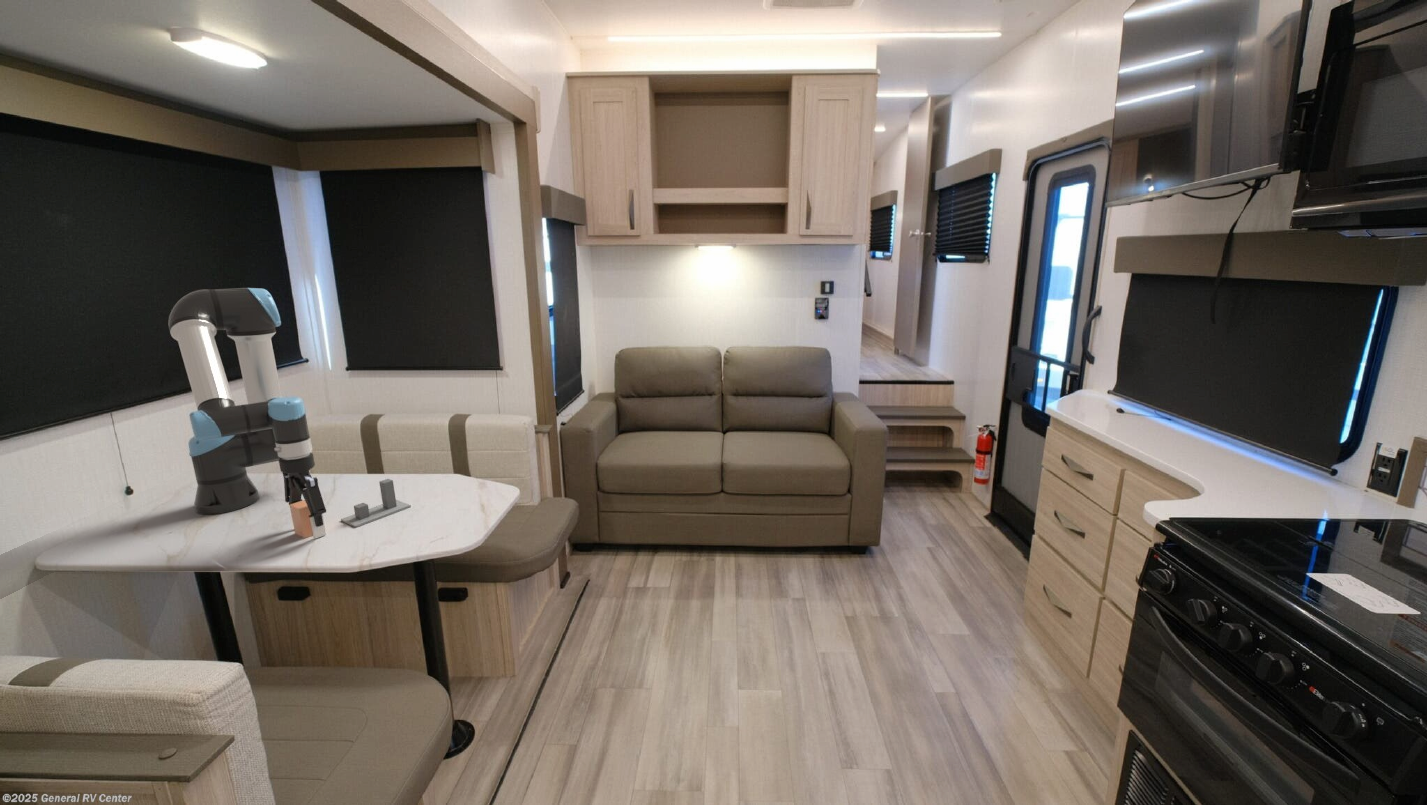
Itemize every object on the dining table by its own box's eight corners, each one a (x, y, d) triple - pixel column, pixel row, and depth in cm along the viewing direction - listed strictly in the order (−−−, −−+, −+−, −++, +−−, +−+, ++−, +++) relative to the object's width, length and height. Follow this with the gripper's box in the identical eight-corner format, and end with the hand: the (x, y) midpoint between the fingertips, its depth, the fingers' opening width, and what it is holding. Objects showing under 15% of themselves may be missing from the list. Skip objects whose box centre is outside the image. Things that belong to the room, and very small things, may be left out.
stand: (341, 520, 164) (336, 491, 161) (395, 501, 177) (391, 474, 174) (356, 527, 159) (351, 498, 157) (410, 506, 173) (406, 479, 170)
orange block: (295, 533, 156) (289, 504, 154) (316, 526, 160) (310, 497, 158) (304, 538, 153) (298, 509, 151) (325, 530, 158) (320, 502, 156)
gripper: (260, 451, 154) (275, 527, 159) (300, 467, 142) (315, 547, 148) (291, 444, 160) (305, 516, 166) (332, 458, 149) (346, 536, 154)
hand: (310, 531), depth 157 cm, fingers open, 10 cm apart
